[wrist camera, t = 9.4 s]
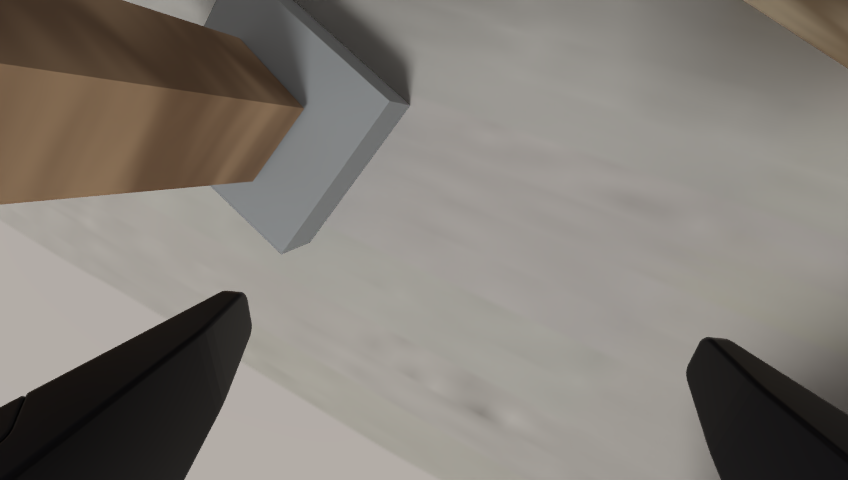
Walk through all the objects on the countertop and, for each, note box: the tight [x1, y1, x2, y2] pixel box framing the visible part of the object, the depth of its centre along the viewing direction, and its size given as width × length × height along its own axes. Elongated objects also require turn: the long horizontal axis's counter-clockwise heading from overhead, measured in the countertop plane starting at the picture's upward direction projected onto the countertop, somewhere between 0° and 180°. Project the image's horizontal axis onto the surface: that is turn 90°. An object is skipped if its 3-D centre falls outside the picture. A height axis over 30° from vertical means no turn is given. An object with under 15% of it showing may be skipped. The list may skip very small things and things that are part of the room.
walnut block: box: [0, 0, 304, 204], centre depth 14 cm, size 4×4×13 cm
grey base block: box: [204, 0, 410, 254], centre depth 21 cm, size 9×9×3 cm
